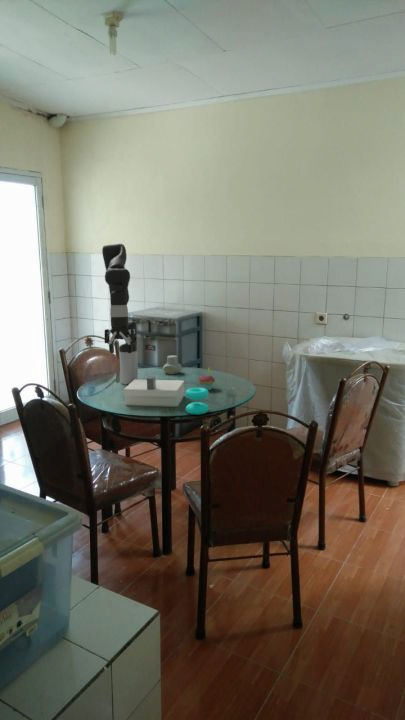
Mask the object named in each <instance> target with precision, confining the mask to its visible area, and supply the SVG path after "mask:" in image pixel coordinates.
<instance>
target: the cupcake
mask: <svg viewBox="0 0 405 720" xmlns="http://www.w3.org/2000/svg"><path fill="white" fill-rule="evenodd" d="M210 369H211V368H210V367H208V368H207V374H205V375H201V376H200V377H199V378H198V379H197V382H198V384H200V388H205V389H207V390H208V391H211V390H212V389H213V386H214V383H215V382H216V379H215V378H214V377H213V376H212V375H210Z"/></svg>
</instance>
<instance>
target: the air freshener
mask: <svg viewBox="0 0 405 720" xmlns="http://www.w3.org/2000/svg"><path fill="white" fill-rule="evenodd" d="M178 361H179V360H178V355H174V354H173V355H172V354H171V355H167V356H166V363H165V364H164V365H163V367H162V370H163V372H164V373H166V374H168V375H171V374H172V375H176V374H179V373H181V372H182V370H183V367H182V364H181V363H179V362H178Z"/></svg>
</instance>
